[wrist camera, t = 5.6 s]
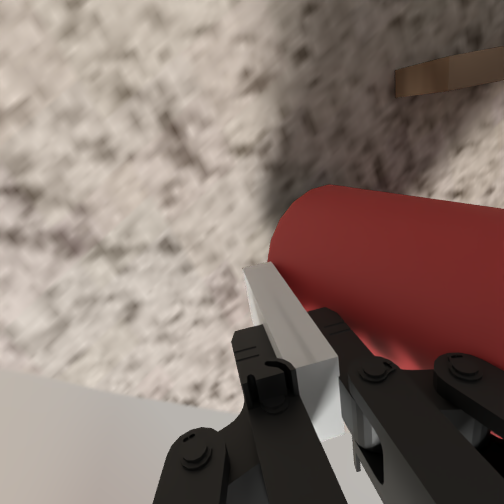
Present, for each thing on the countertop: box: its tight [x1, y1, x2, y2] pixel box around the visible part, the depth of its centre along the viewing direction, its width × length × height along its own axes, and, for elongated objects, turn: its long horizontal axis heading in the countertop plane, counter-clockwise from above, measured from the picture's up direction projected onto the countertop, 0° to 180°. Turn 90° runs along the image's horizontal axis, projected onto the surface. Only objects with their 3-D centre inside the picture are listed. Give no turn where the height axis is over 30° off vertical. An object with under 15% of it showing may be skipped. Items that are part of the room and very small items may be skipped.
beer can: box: [267, 184, 504, 439], centre depth 12 cm, size 7×7×12 cm
